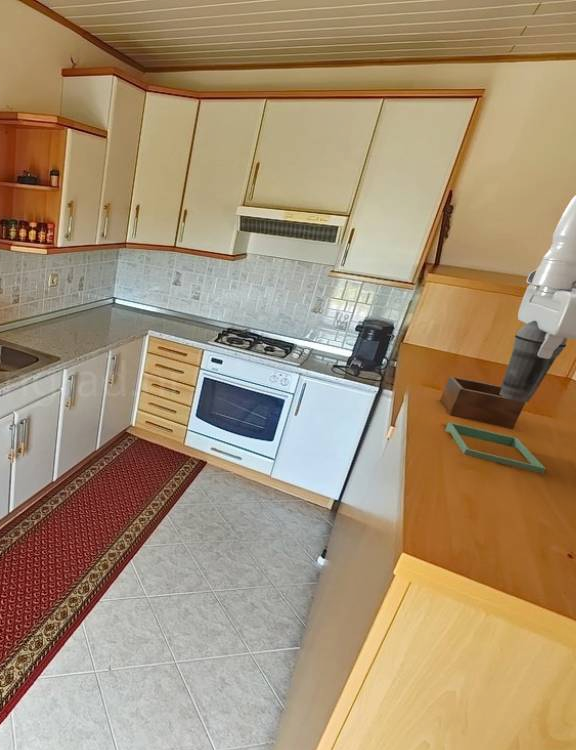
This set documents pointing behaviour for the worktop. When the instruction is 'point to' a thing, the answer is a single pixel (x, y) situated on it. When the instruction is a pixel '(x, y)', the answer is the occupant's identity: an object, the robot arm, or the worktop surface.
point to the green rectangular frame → (494, 438)
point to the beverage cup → (527, 364)
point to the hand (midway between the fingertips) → (534, 352)
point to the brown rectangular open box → (480, 402)
